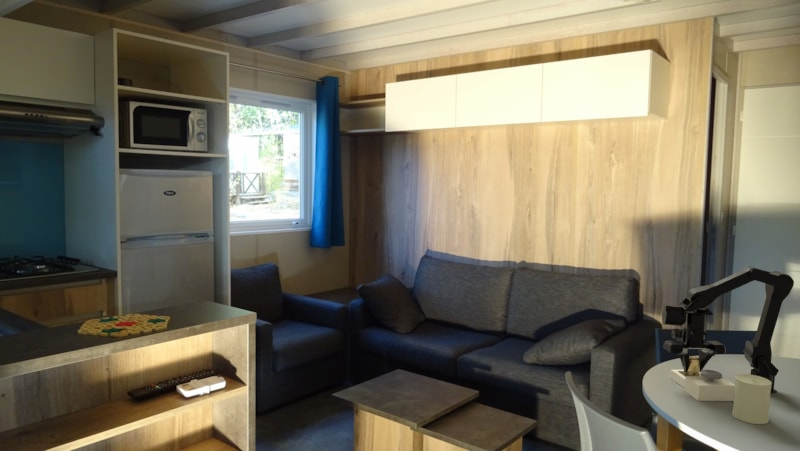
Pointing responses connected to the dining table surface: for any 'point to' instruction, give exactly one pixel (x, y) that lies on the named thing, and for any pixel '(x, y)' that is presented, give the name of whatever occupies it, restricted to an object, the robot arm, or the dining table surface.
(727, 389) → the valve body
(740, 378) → the can
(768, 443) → the dining table surface
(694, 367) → the brass cylinder
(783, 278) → the robot arm
